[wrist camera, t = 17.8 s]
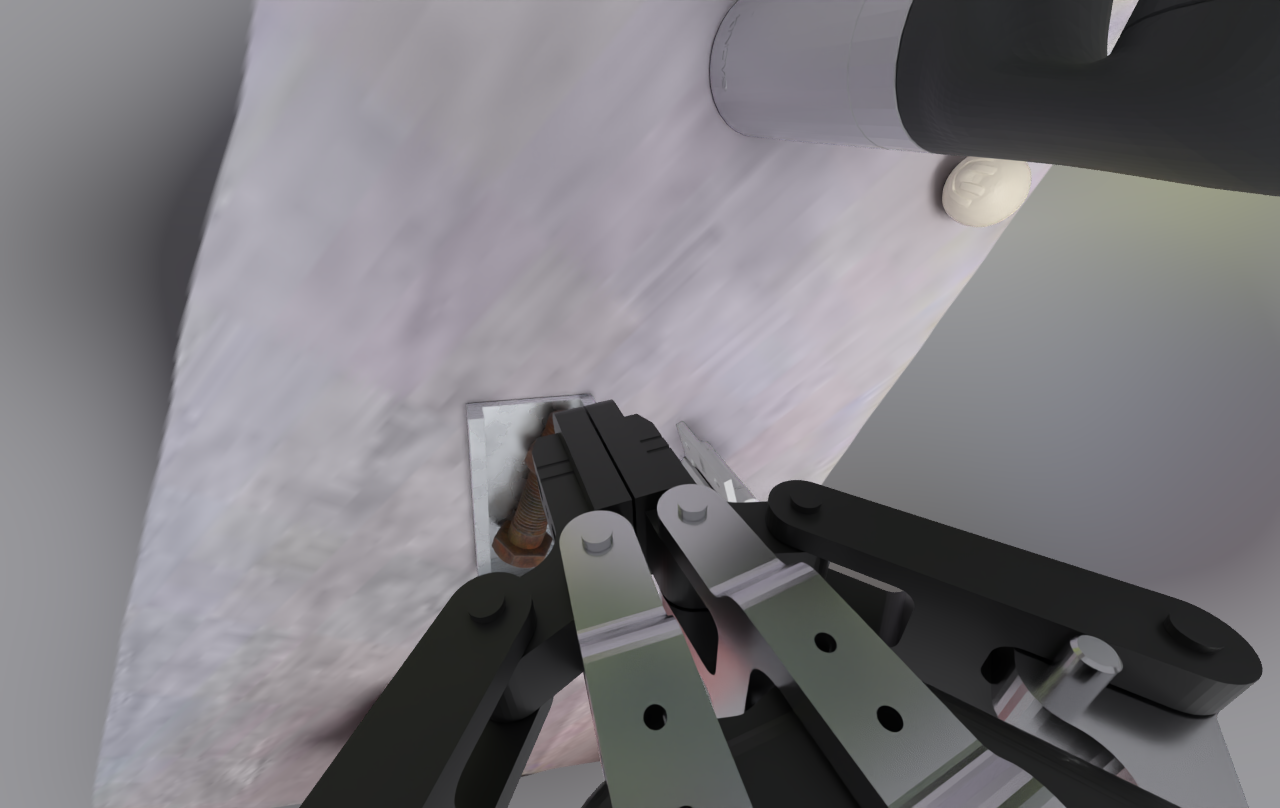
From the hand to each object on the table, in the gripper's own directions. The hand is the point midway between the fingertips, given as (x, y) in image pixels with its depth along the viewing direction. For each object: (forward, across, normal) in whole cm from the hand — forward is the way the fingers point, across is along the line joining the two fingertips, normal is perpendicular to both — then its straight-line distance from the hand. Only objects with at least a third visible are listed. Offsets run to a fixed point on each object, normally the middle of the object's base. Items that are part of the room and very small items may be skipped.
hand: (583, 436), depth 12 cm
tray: (+28, 0, +24) cm, 37 cm away
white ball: (+29, -46, +1) cm, 54 cm away
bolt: (+27, -1, +23) cm, 36 cm away
